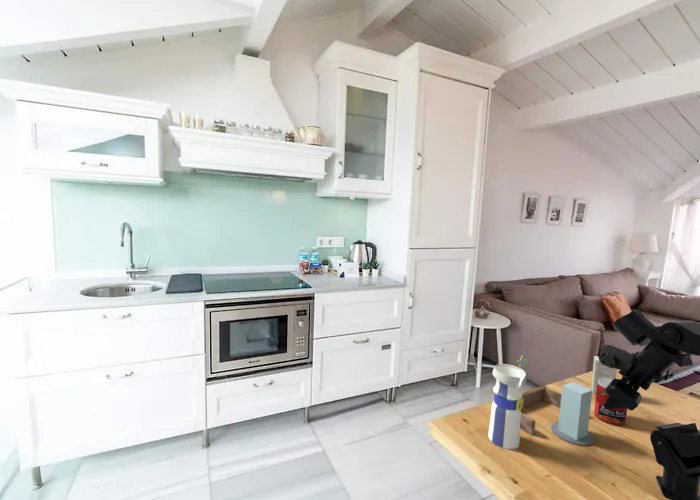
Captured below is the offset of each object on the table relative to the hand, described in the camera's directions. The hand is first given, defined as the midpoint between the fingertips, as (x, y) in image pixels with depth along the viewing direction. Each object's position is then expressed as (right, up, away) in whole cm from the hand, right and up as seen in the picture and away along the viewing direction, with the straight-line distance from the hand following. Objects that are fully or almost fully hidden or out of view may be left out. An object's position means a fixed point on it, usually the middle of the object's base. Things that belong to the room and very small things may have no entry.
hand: (612, 397), depth 89 cm
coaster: (-7, -12, +6) cm, 15 cm away
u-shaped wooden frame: (-11, -11, +14) cm, 21 cm away
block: (-7, -12, +6) cm, 15 cm away
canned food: (+10, -12, +14) cm, 21 cm away
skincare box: (+18, -11, +28) cm, 35 cm away
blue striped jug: (-27, -12, +3) cm, 30 cm away
